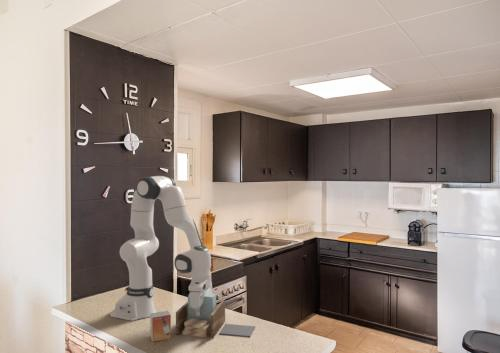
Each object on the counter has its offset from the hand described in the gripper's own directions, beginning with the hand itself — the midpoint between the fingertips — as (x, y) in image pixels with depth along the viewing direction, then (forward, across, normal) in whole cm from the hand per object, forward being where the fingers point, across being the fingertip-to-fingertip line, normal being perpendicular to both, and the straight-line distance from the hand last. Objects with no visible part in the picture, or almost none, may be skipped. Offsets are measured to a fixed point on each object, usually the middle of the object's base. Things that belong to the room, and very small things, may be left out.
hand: (202, 311), depth 168 cm
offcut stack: (+7, +6, 0) cm, 10 cm away
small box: (+7, +14, -14) cm, 21 cm away
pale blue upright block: (+7, 0, 0) cm, 7 cm away
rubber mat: (+7, +1, +17) cm, 18 cm away
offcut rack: (+7, +1, 0) cm, 7 cm away
